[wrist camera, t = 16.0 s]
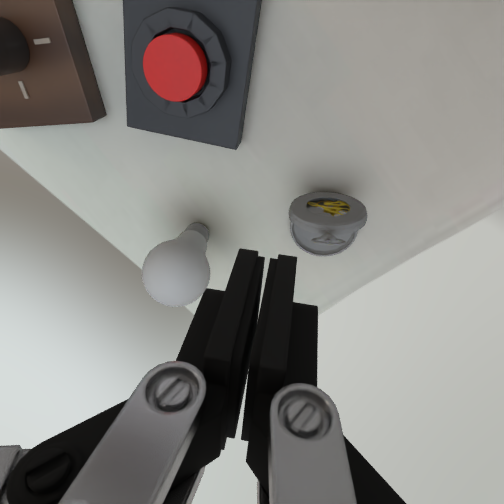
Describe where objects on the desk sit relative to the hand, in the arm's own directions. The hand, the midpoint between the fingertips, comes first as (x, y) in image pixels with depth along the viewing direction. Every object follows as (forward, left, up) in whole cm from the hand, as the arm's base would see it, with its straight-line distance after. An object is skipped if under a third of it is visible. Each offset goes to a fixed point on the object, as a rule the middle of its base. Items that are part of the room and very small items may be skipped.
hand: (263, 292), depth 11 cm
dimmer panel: (-2, -24, -25) cm, 35 cm away
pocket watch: (+10, +4, -25) cm, 27 cm away
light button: (-3, -9, -21) cm, 24 cm away
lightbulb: (+14, -9, -25) cm, 30 cm away
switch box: (-2, -9, -25) cm, 27 cm away
